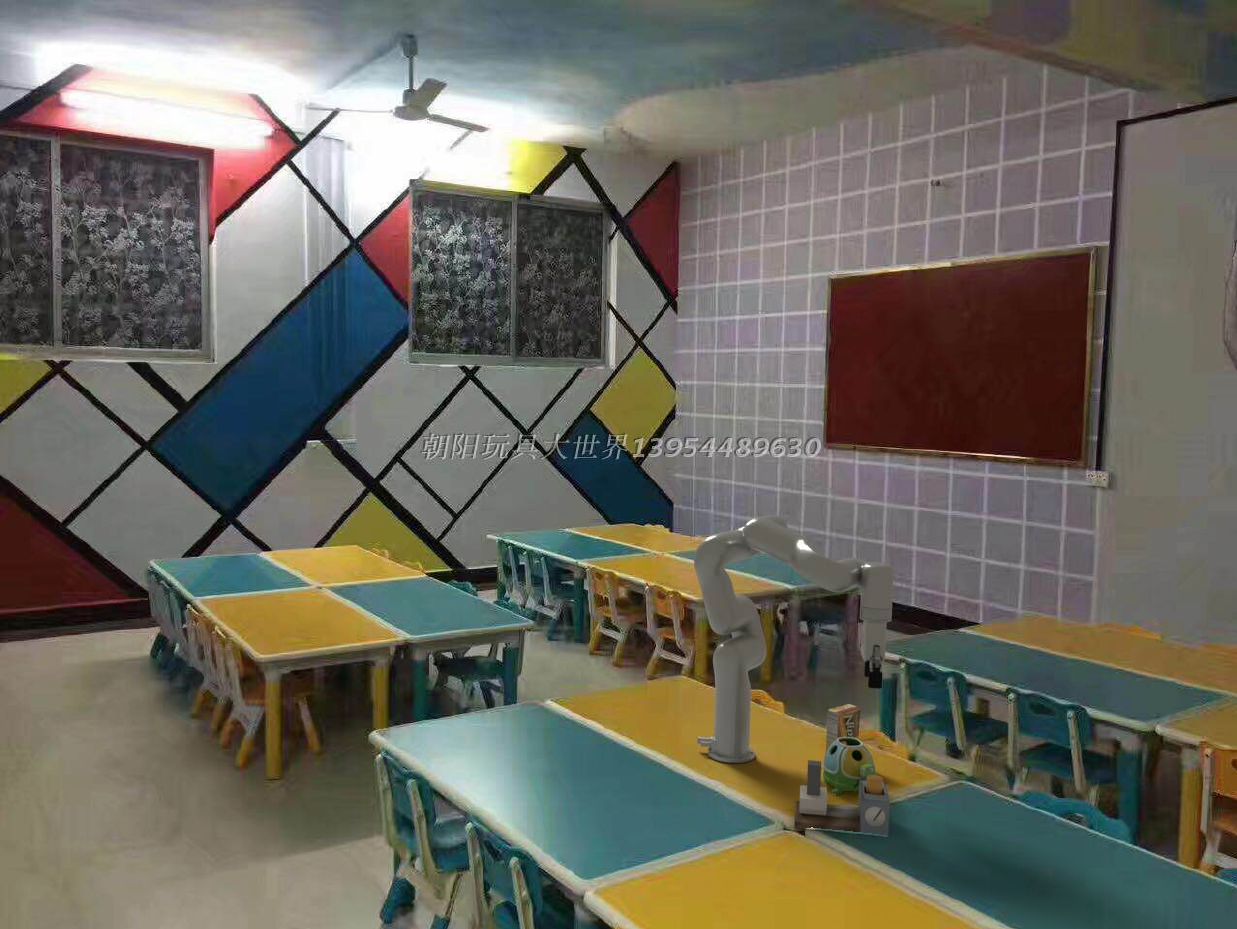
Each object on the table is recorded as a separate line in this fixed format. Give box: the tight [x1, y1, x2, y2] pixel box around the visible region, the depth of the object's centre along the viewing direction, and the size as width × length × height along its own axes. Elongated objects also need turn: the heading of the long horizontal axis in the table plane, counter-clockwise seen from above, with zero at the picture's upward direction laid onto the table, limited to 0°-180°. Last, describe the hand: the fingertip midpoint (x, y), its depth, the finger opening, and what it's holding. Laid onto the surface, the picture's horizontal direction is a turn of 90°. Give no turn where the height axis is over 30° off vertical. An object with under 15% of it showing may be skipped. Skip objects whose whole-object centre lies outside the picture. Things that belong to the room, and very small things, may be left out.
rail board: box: [793, 800, 861, 832], centre depth 238 cm, size 14×12×4 cm
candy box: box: [825, 703, 861, 753], centre depth 273 cm, size 9×4×15 cm, turn 129°
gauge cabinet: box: [857, 780, 891, 836], centre depth 236 cm, size 6×12×8 cm, turn 169°
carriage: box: [799, 759, 828, 815], centre depth 238 cm, size 6×8×11 cm
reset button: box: [866, 774, 884, 795], centre depth 235 cm, size 4×4×4 cm
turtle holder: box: [822, 737, 878, 796], centre depth 255 cm, size 12×18×12 cm
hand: (872, 682), depth 255 cm, fingers open, 9 cm apart
